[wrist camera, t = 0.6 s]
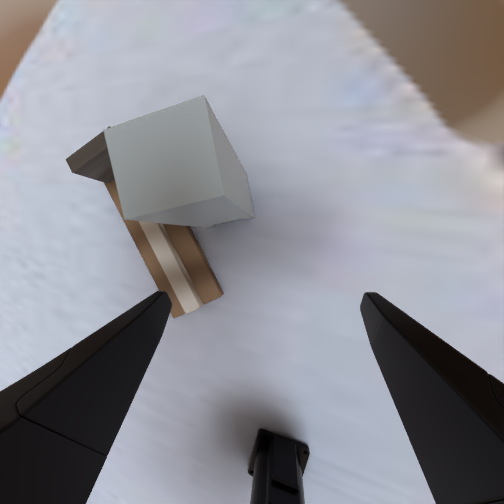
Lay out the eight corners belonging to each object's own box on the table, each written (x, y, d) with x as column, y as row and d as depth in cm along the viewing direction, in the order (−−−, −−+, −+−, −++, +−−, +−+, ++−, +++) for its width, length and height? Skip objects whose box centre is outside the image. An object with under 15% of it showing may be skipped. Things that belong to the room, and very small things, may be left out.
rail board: (223, 293, 23) (208, 309, 18) (178, 315, 24) (151, 335, 19) (150, 148, 22) (113, 123, 17) (107, 177, 24) (62, 162, 19)
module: (255, 217, 21) (224, 195, 9) (207, 228, 22) (124, 219, 10) (246, 174, 21) (204, 95, 9) (198, 186, 22) (103, 129, 10)
